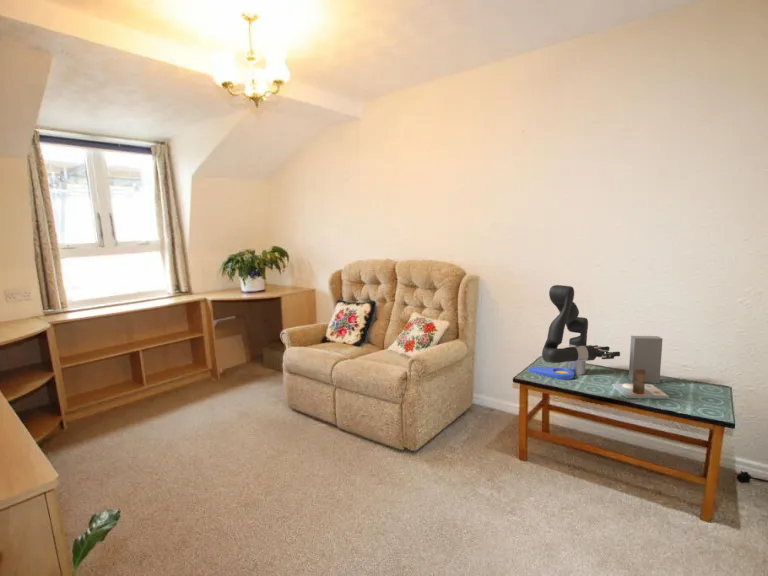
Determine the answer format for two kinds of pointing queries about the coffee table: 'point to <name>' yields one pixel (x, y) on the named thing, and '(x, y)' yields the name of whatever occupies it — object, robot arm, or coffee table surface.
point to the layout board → (649, 392)
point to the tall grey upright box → (646, 357)
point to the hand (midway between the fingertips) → (614, 351)
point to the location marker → (553, 372)
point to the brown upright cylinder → (639, 381)
